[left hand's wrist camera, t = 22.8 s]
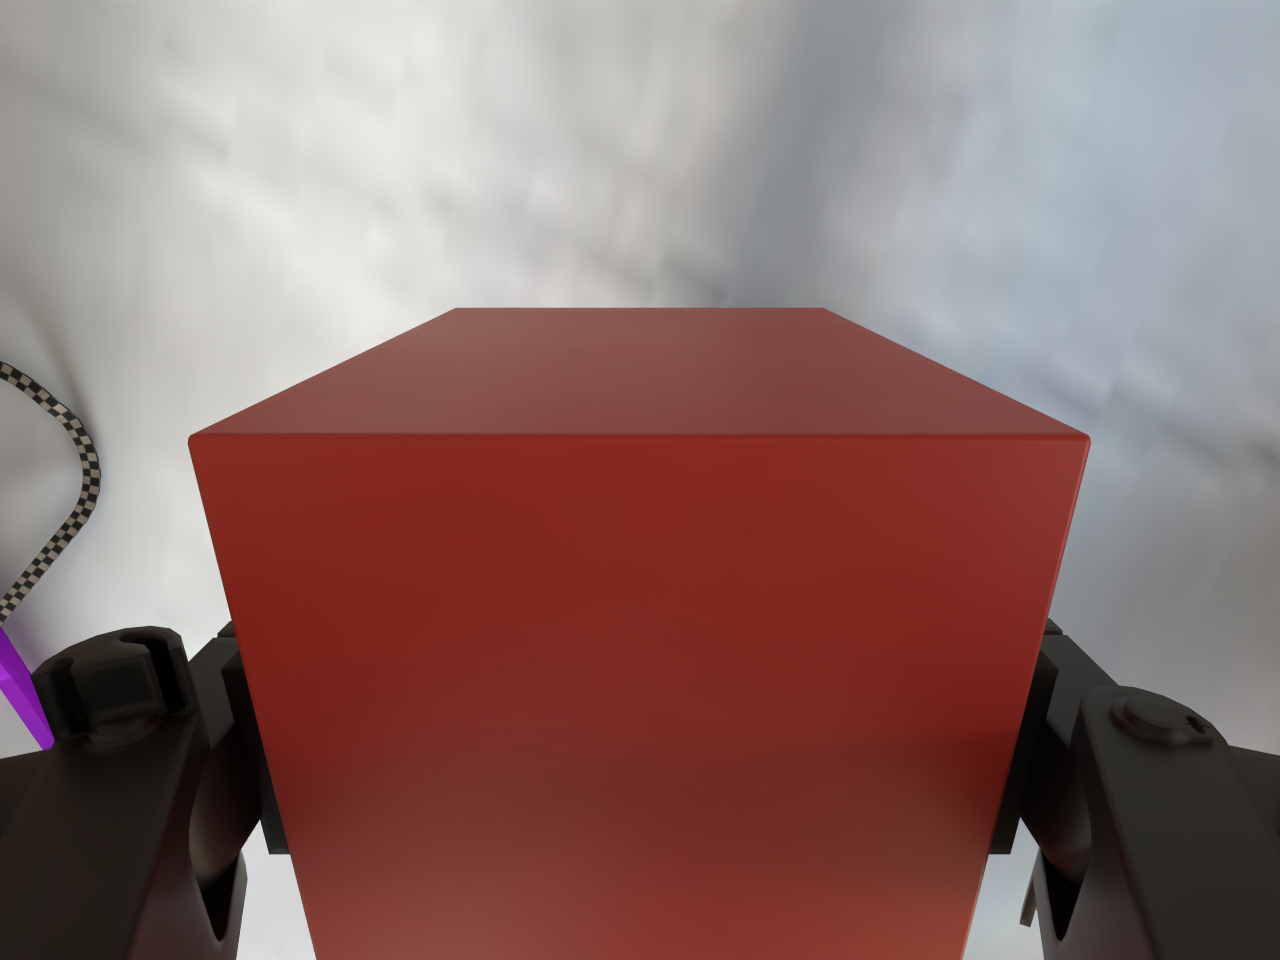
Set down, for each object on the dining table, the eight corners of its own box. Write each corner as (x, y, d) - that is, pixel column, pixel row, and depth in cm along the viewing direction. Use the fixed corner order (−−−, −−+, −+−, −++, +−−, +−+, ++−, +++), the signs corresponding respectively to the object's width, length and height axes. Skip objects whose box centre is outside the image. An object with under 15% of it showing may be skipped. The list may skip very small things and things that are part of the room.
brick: (825, 307, 14) (1097, 435, 6) (792, 654, 17) (937, 1069, 9) (453, 307, 14) (181, 435, 6) (486, 654, 17) (340, 1069, 9)
